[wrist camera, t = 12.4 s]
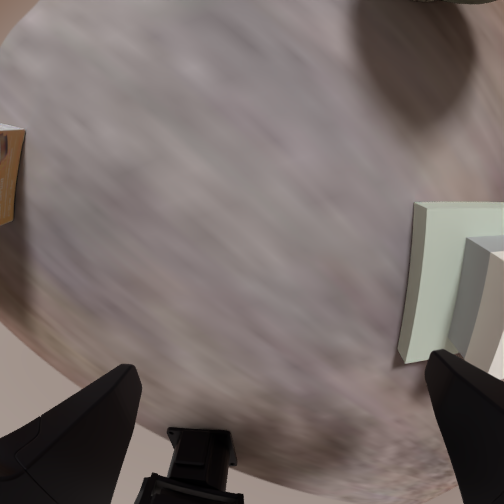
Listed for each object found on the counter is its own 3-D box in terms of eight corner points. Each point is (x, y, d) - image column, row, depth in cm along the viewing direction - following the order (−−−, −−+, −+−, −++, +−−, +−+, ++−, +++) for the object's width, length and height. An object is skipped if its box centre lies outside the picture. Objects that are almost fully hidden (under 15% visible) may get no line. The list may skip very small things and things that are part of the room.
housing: (513, 234, 17) (564, 263, 12) (492, 326, 20) (530, 368, 14) (466, 237, 18) (519, 271, 12) (447, 336, 20) (482, 385, 15)
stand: (502, 327, 22) (512, 338, 20) (397, 348, 23) (405, 363, 21) (527, 202, 18) (542, 208, 16) (414, 202, 19) (427, 208, 17)
